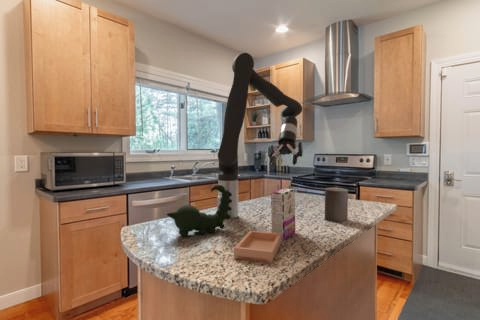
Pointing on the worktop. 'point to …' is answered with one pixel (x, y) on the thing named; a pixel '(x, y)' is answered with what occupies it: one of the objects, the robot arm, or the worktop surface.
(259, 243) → the terracotta tray
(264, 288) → the worktop surface
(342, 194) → the pillar candle
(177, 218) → the toy figurine
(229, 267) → the worktop surface
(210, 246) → the worktop surface
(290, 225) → the candy bar box
